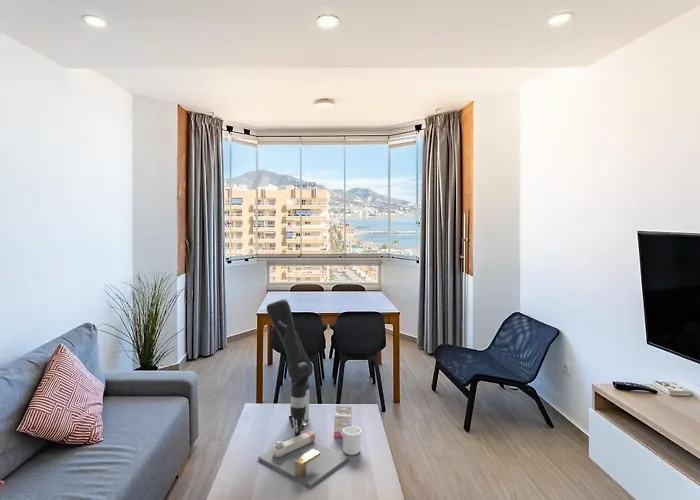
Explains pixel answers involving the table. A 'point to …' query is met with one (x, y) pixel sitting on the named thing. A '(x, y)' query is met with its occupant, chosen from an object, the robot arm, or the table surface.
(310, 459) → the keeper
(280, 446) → the latch bar
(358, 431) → the mug
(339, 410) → the ink cartridge box
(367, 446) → the table surface
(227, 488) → the table surface
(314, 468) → the base plate
